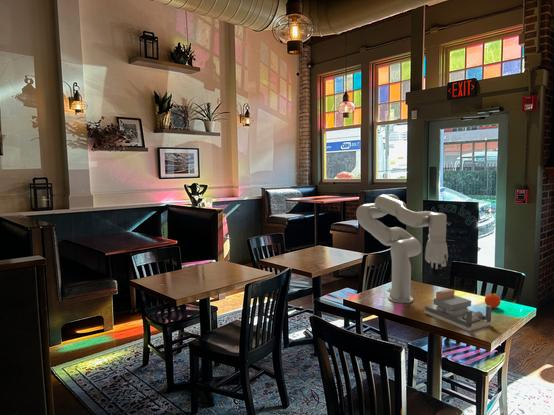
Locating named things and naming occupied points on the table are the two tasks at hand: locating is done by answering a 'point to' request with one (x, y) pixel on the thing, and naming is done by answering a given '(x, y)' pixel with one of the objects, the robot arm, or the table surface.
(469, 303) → the slab
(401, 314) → the table surface
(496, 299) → the clementine
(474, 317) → the loose roller
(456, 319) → the roller track
